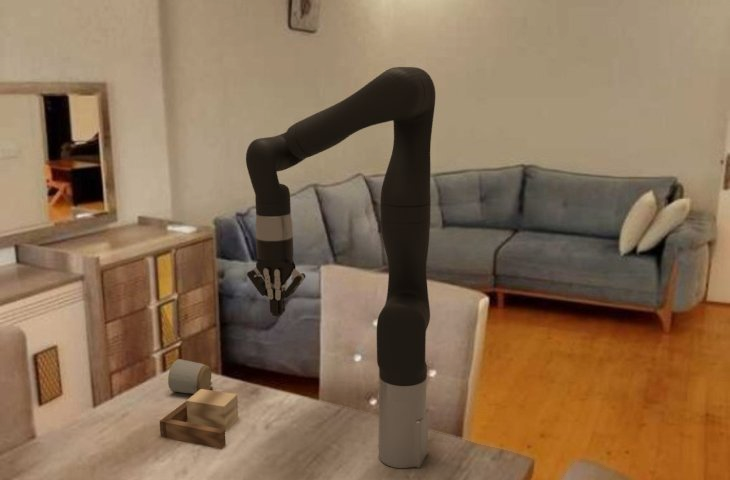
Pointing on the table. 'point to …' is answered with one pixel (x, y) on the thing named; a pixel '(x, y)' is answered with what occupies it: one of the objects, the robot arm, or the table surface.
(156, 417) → the table surface
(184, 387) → the ceramic mug
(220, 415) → the oak block
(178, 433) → the corner fence
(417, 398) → the robot arm
